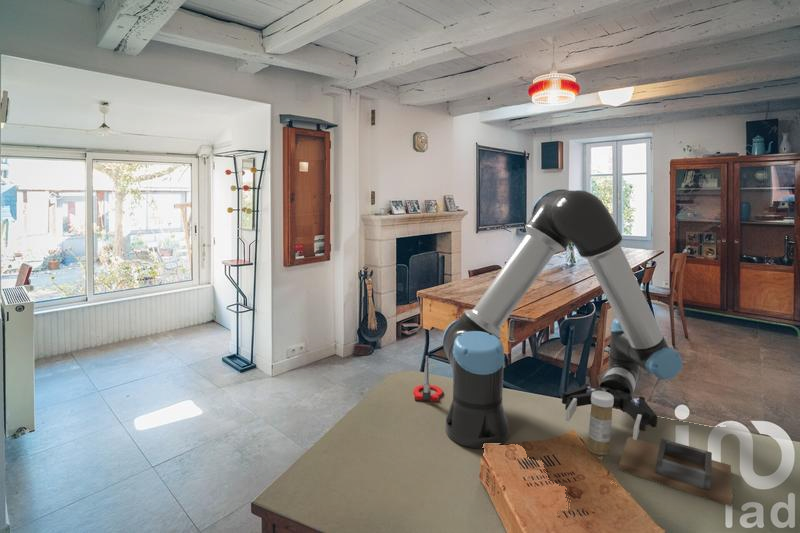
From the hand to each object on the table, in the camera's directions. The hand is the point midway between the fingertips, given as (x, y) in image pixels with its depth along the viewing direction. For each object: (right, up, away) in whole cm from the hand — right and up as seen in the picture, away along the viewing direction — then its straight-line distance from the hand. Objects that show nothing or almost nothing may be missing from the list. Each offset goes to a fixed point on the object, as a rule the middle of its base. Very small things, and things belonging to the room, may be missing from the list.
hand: (600, 424), depth 97 cm
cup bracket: (+13, -8, -4) cm, 16 cm away
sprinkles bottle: (+1, -7, +3) cm, 8 cm away
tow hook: (-36, -3, +31) cm, 47 cm away
